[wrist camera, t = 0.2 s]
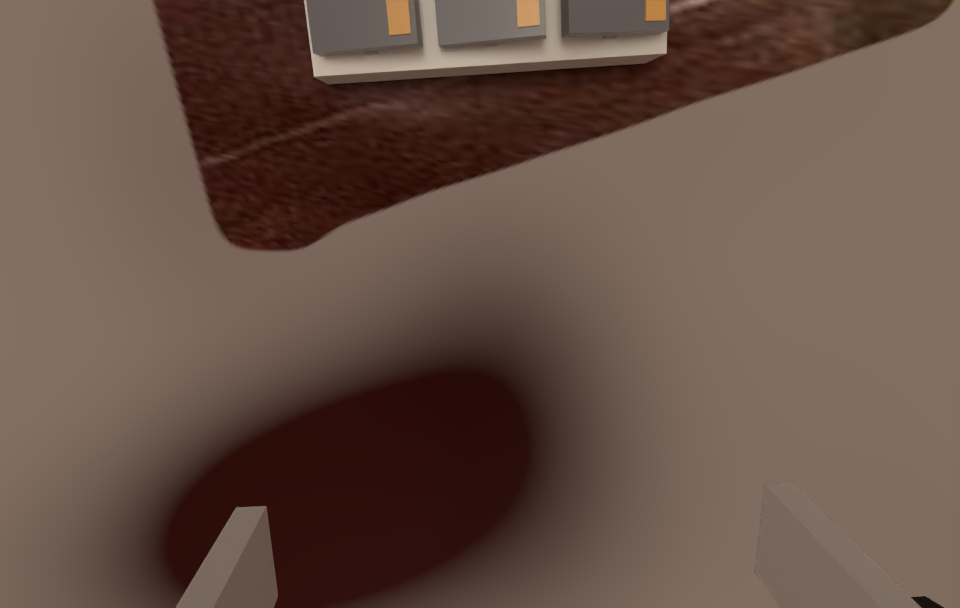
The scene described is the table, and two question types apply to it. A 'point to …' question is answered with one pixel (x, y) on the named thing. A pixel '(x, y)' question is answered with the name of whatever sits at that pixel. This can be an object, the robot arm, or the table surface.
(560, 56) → the power strip
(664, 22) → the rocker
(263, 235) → the table surface
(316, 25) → the block
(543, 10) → the rocker
